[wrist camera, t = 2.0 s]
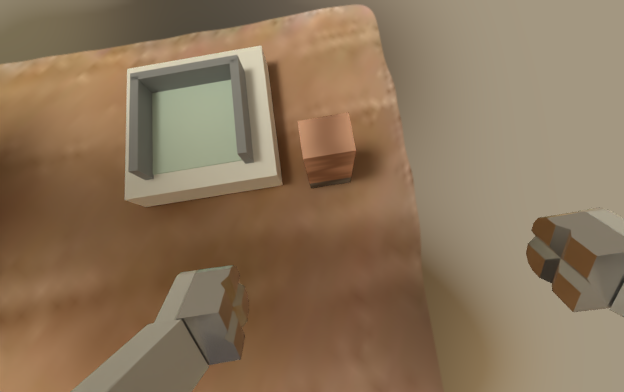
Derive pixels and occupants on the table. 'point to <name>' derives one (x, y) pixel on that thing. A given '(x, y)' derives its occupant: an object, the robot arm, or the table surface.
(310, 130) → the block
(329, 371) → the table surface
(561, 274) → the robot arm
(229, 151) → the bay dock
